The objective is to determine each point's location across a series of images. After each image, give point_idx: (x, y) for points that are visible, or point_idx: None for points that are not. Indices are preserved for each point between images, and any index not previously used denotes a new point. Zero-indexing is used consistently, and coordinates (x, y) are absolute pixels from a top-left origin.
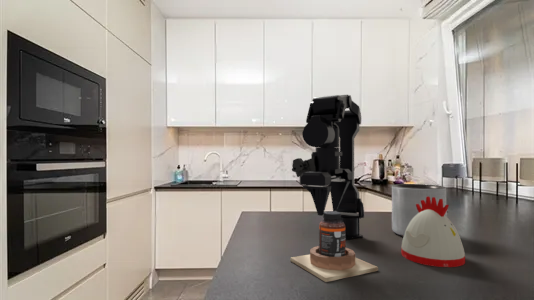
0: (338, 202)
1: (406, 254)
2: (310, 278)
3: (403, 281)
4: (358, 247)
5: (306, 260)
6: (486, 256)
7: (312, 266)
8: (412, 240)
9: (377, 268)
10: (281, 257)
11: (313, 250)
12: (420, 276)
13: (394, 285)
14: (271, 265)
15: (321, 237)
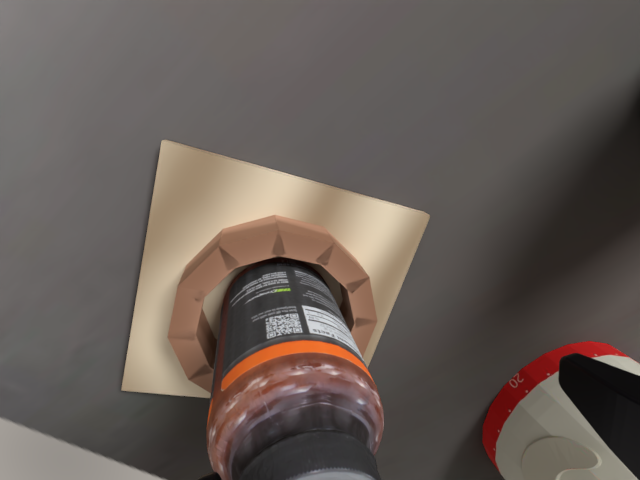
0: (623, 456)
1: (515, 394)
2: (101, 332)
3: None
4: (544, 223)
5: (199, 226)
6: None
7: (166, 291)
8: (546, 459)
9: None
10: (162, 58)
11: (219, 269)
12: (385, 467)
13: None
14: (28, 117)
15: (214, 368)
